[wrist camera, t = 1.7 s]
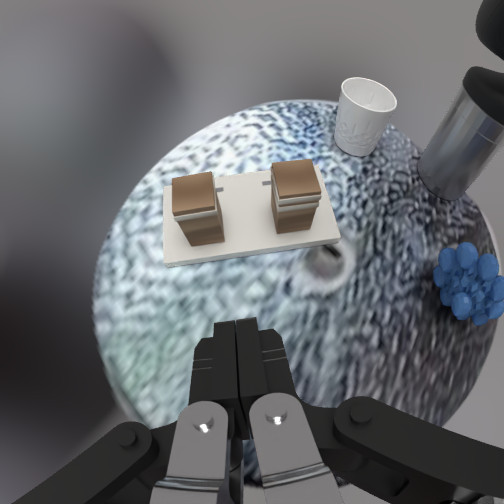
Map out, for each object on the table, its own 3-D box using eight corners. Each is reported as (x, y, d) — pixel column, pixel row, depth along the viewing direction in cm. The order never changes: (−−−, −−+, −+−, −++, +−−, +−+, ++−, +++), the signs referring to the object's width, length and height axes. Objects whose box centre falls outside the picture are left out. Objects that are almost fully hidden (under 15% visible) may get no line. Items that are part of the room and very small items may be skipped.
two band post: (311, 229, 34) (322, 192, 26) (275, 234, 33) (278, 197, 26) (303, 199, 35) (311, 158, 28) (269, 204, 35) (270, 162, 28)
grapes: (398, 293, 32) (451, 258, 21) (424, 257, 33) (474, 214, 22) (453, 352, 28) (517, 339, 17) (475, 314, 30) (534, 289, 19)
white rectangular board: (337, 242, 35) (340, 237, 33) (167, 267, 34) (163, 263, 33) (316, 171, 39) (318, 164, 37) (166, 192, 38) (163, 186, 37)
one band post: (226, 242, 33) (215, 206, 26) (190, 247, 33) (170, 213, 26) (222, 210, 35) (212, 170, 28) (188, 216, 35) (171, 177, 27)
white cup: (320, 133, 42) (329, 83, 32) (354, 119, 43) (367, 73, 34) (353, 167, 39) (372, 117, 30) (386, 149, 40) (407, 104, 31)
